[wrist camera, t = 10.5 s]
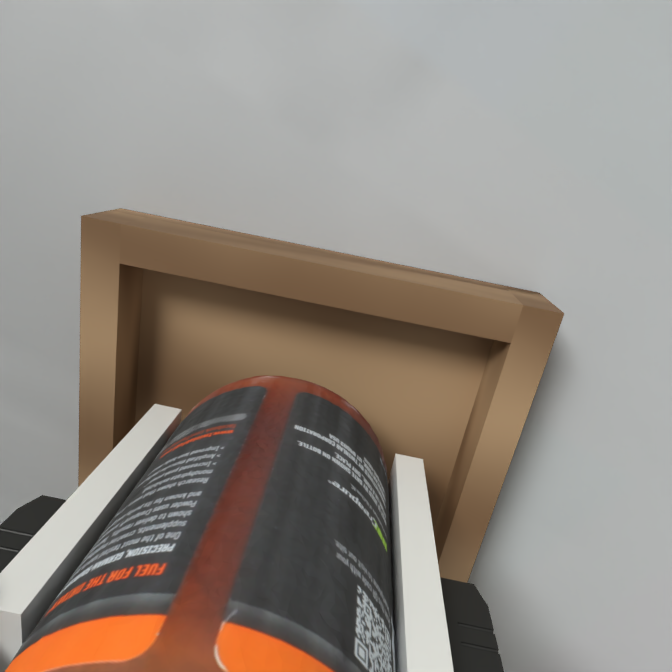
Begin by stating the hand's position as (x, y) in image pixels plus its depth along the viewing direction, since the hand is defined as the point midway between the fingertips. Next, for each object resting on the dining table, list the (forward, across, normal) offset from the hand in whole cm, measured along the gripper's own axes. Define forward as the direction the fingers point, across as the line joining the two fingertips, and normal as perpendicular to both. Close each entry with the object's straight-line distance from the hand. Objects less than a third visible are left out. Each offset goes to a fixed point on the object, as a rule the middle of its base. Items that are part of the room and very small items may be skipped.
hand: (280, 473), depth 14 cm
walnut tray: (+2, 0, 0) cm, 2 cm away
